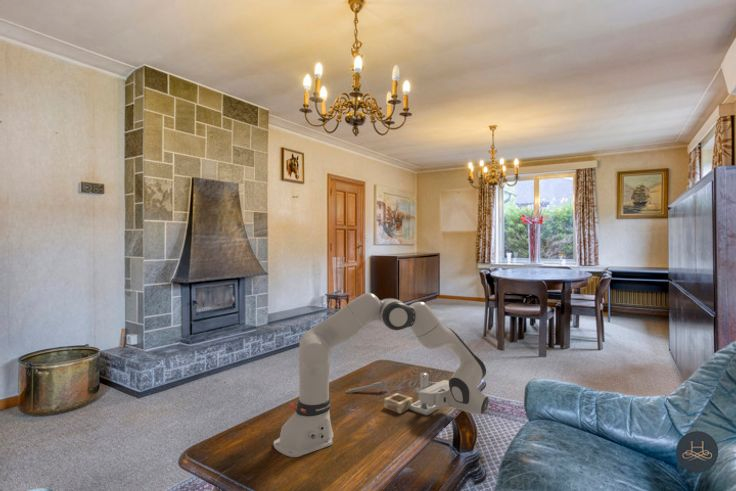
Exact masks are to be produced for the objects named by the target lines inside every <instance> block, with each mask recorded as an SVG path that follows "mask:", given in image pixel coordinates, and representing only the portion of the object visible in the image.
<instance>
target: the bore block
mask: <svg viewBox="0 0 736 491" xmlns="http://www.w3.org/2000/svg"><path fill="white" fill-rule="evenodd" d="M413 403H414V397H411V396H408V395H405V394H401V393H398V392H396V393H393V394H391V395H389V396H387V397H385V398H383V404H384V406H383V408H385V409H387V410H390V411H391V412H392V411H393V412H395V413H398V414H403V413H405V412H406V411H408V410H410V405H411V404H413Z"/></svg>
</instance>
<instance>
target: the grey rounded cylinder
mask: <svg viewBox="0 0 736 491" xmlns="http://www.w3.org/2000/svg"><path fill="white" fill-rule="evenodd" d="M429 376H430V374H429V373H428V372H422V371H421V372H420V373H419V378H420V379H419V380H420V384H419V385H420V386H419V388H421V390H422V389H425V388H428V387H429V382H430V381H429V378H430V377H429ZM420 408H423V409H425V410H427V409H429V404H426V403H424V402H421V401H420Z"/></svg>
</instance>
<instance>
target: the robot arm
mask: <svg viewBox="0 0 736 491" xmlns="http://www.w3.org/2000/svg"><path fill="white" fill-rule="evenodd" d="M375 321H381V323H382V325H384V326H385V327H387V329H389V330H392V331H401V330H405V329H407V328H410V329H411V331H412V332H413V334H414V335H415V337H416V338H417V340H418V342H419V343H420V344H421V345H422V346H423V347H424V348H426V349H430V350H435V349H440V348H443V347H446V346H448V348H450V349H451V351H453V352H454V354H455V355H456V356H457V357H458V359H459V360H460V364H459V367H457V369H456V370H455V371H454V373H453V374H452V376H451V377H450V378H449V380H448V379H443V380H441V381H438V382H437V381H434V382H433V381H429V387H428V388H425V389H422V390H421V388H420V386H419V387H418V386H417V387H416V388H415V389H414V390H415V393H418V401H419V400H420V401H421V402H424V403H426V404H429V405H436V408H439V409H444V408H453V409H460V410H461V411H463V412H465V413H469V414H472V415H477V416H479V415H481V416H482V415H483V414H485V412H486V411H487V409H488V405H489V402H490V401H489V396H488V395H486V394H484V393H482V392H481V391H480V390H479V388H478V386H479V384H480V382H481V381H482V380H483V378H485V376H486V375H487V368H486V365H485V363H484V362H483V361H482V360H481V359H480V358H479V357H478V356H477V355H476V354H475V353H474V352H473V351H472V350H471V349H470V348H469V346H467V344H466V343H465V342H464V340H463V339H462V338H461V337H460V336H459V335H458V334H457V333H456V332H455V330H453V329H452V328H451V327H447V326H445V325H443V323H442V322H441V321H440V320H439V318H438V316H437V315H436V313H435V312H433V310H432V308H430V306H428V305H427V304H426V303H425V302H424V301H416V302H412V303H411V304H409V305H408V304H406V303H404V302H402V301H401V300H399V299H396V298H393V297H387V298H381V299H380V298H379V297H378V296H377V295H376V294H375V293H372V292H365V293H363V294H360V295H358V296H357V297H355V298H354V299H353V300H351V301H349V302H347V303H346V304H345V305H344V306H342V307H341V308H340V309H339V310H338V311H336V312H335V313H334V314H332V315H331V316H330V317H328V318H326V319H324V320H323V321H320V323H318V324H316V325H315V326H313V327H312V328H310V329H308V330H306V332H304V333H303V334H302V336H301V337H300V340H299V347H298V348H299V350H298V351H299V352H298V362H299V363H298V364H299V365H298V366H299V367H298V368H299V369H298V370H299V371H298V372H299V376H298V378H299V379H298V380H299V382H298V384H299V390H298V391H299V398H298V400H297V403H295V402H290V405H289V407H290V409H292V410H294V411H295V412H294V413H292V415H291V416H290V417H289V418H288V419H287V421H286V422H285V423H284V424H283V425H282V427H281V428H280V433H279V437H278V438H277V439H275V440H274V441H273V448H274V449H275V450H276V451H278V453H280V454H281V455H284V456H287V457H290V458H298V457H302V456H304V455H307V454H310V453H312V452H315V451H316V452H317V451H318V450H322V449H324V448H327V447H330V446H332V445H333V438H334V431H333V427H332V423H331V415H330V409H331V398H330V363H331V360H330V359H331V350H332V349H334V348H335V347H337V346H339V345H341V344H343V343H345V342H348V341H350V339H351V338H353V337H355V335H357V334H359V332H360V331H362V330H363V329H364V328H366V327H367V326H368V325H369V324H370V323H373V322H375ZM439 409H438V410H439Z"/></svg>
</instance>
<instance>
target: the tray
mask: <svg viewBox="0 0 736 491" xmlns="http://www.w3.org/2000/svg"><path fill="white" fill-rule="evenodd" d="M409 410H411V411H413V412H415V413H418V414H421V415H423V416H426V417H427V416H429V415H430V414H432V413H434V412H437V411H438V410H439V408H436V405H429V409H427V410H425V409H423V408H420V400H419V399H418V400H417V401H415V402H413V404H411V405H410V409H409Z"/></svg>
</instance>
